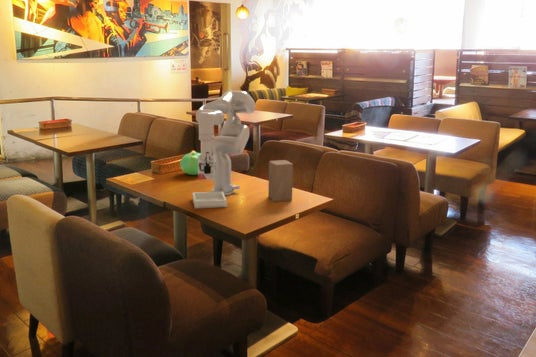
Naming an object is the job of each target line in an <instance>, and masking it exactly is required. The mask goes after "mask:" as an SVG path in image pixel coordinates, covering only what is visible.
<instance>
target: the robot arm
mask: <svg viewBox="0 0 536 357" xmlns="http://www.w3.org/2000/svg"><path fill="white" fill-rule="evenodd" d="M255 110H256V102H255V100H254V99H253V97H252V96H251V95H250V94H249V93H248V92H247V91H244V90H231V89H230V90H227V91H225V92H224V93H223V94H222V95H221V96H220V97H219V98H218V99H216V100H213V101H210V102H207V103H204V104H203V105H201V107H199V109H198V110H197V111H196V114H195V120H196V122H197V123H198V140H199V141H200V153H201V159H202V160H204V161H205V166H204V174H210V173H211V166H210V160H211V159H212V155H215V156H216V164H215V179H213V188H212V189H210V192H222V191H223V193H224V195H225V196H229V195H232V194H234V193H235V190H240V185H237V184H232V160H231V157H230V156H229V155H237V156H239V155H241V154H242V153H243V152H244V149H245V147H246V145H247V143H248V140H249V138H250V127H249V126H248V125H246V124H242V121H241V118H240V117H239V116H238V115H237V114H248V115H249V114H250V115H251V114H252V113H255ZM225 115H226V120H225ZM224 121H225V122H224ZM223 123H224V124H223ZM222 124H223V126H222V127H221V130H220V135H216V136H215V126H221V125H222ZM210 158H211V159H210ZM205 159H207V160H205ZM206 161H207V162H206Z"/></svg>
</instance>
